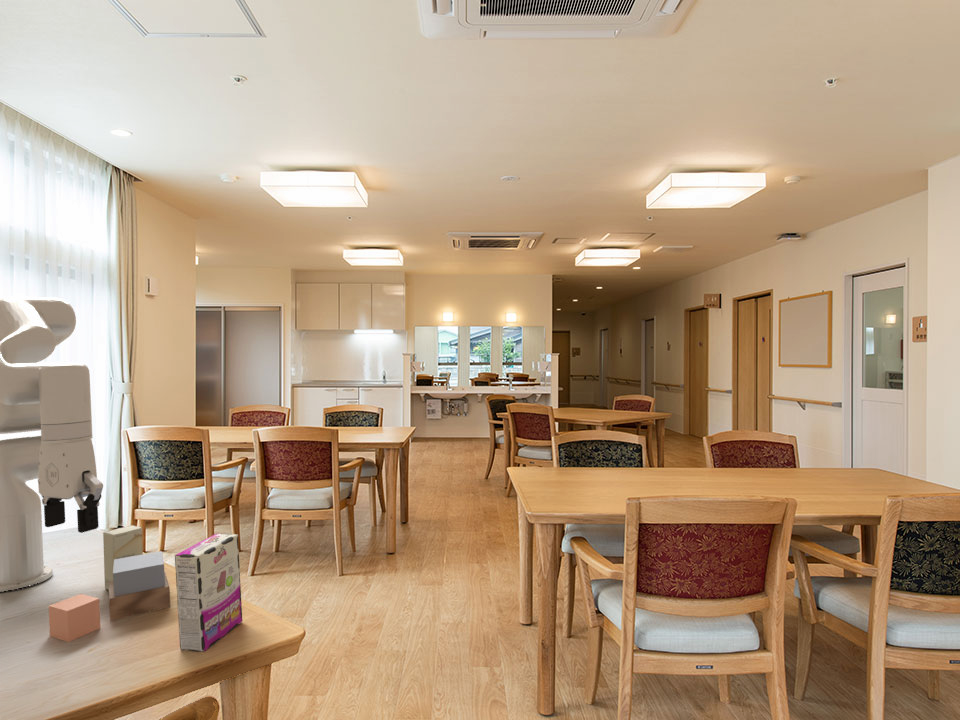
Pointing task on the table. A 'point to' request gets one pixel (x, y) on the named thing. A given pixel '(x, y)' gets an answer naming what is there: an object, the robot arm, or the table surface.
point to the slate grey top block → (138, 573)
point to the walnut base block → (138, 601)
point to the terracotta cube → (74, 617)
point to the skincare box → (120, 547)
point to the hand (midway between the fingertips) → (71, 527)
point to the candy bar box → (208, 591)
